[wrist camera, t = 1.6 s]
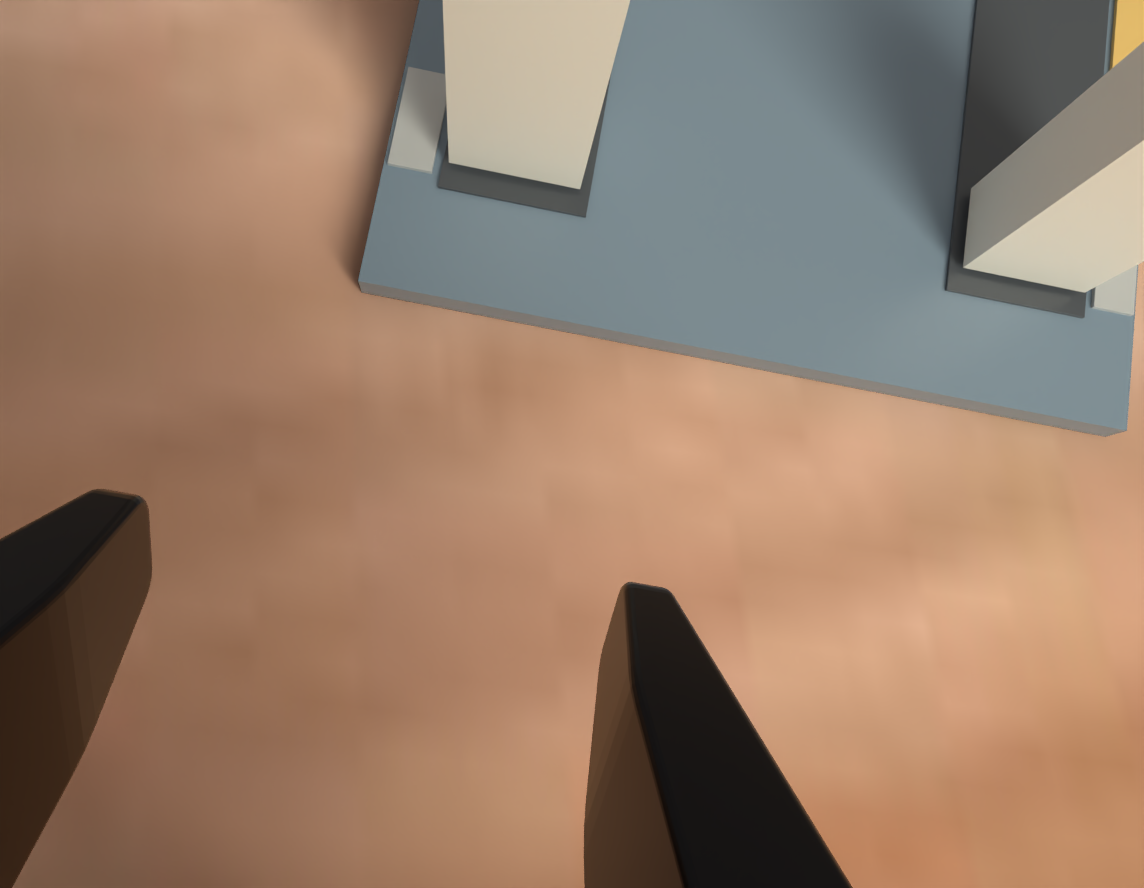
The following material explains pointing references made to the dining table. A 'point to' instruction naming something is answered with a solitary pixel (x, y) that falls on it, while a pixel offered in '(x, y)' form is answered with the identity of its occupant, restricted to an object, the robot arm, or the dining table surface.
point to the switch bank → (784, 200)
